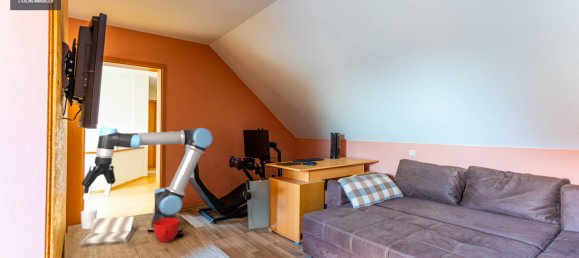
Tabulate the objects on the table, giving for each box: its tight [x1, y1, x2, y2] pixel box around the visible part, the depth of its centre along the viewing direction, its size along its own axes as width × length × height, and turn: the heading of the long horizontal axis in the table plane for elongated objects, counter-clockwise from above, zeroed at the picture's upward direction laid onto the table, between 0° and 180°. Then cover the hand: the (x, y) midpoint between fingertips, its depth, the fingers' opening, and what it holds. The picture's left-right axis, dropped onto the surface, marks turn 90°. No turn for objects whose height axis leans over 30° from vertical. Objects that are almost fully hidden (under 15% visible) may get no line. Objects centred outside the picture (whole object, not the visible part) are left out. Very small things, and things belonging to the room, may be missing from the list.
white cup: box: [80, 208, 98, 230], centre depth 175 cm, size 8×8×10 cm
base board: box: [77, 226, 137, 248], centre depth 160 cm, size 22×22×3 cm
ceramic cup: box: [152, 218, 180, 243], centre depth 156 cm, size 13×17×10 cm
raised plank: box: [88, 216, 135, 235], centre depth 165 cm, size 20×10×2 cm
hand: (96, 197), depth 151 cm, fingers open, 13 cm apart
